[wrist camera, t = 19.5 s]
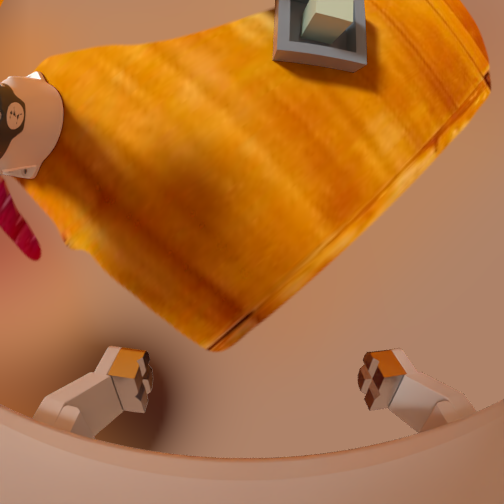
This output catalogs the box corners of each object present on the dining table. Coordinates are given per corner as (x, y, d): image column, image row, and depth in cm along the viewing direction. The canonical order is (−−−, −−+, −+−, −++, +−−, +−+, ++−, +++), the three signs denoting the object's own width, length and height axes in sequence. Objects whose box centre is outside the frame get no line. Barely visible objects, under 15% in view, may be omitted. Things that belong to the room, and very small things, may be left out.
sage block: (300, 37, 32) (315, 12, 24) (302, 13, 31) (317, -15, 22) (331, 44, 32) (352, 22, 24) (332, 20, 31) (353, -5, 22)
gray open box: (272, 60, 34) (276, 49, 30) (275, -5, 30) (279, -20, 26) (353, 72, 35) (366, 64, 30) (351, 9, 31) (363, -4, 26)
